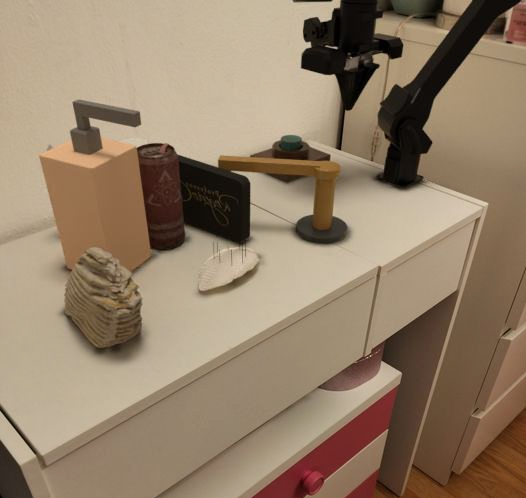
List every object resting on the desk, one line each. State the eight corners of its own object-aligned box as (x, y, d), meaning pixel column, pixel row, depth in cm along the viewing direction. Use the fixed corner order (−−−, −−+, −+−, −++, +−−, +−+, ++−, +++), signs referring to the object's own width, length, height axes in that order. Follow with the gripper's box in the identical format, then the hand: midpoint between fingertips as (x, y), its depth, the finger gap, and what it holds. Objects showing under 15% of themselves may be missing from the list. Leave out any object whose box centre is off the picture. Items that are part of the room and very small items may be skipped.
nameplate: (250, 240, 85) (250, 177, 78) (242, 245, 83) (242, 182, 77) (151, 202, 94) (144, 143, 87) (143, 206, 92) (136, 147, 86)
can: (192, 233, 86) (185, 143, 77) (174, 253, 81) (164, 160, 72) (157, 227, 87) (146, 138, 78) (137, 246, 83) (123, 153, 74)
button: (290, 142, 107) (291, 133, 106) (305, 148, 105) (306, 138, 104) (276, 147, 105) (276, 138, 104) (290, 153, 103) (291, 143, 101)
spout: (339, 179, 83) (341, 159, 81) (338, 190, 80) (340, 170, 78) (222, 171, 85) (221, 152, 83) (217, 182, 82) (216, 162, 80)
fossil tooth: (100, 301, 74) (163, 345, 65) (56, 318, 70) (116, 367, 61) (82, 219, 67) (150, 256, 58) (33, 233, 64) (97, 274, 55)
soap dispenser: (66, 268, 78) (24, 105, 64) (106, 242, 84) (76, 87, 69) (139, 293, 73) (111, 123, 59) (175, 263, 79) (159, 102, 65)
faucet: (319, 214, 91) (324, 161, 86) (357, 232, 87) (364, 177, 81) (285, 230, 87) (287, 175, 81) (322, 249, 83) (328, 192, 77)
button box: (293, 151, 113) (294, 131, 110) (329, 165, 107) (331, 145, 105) (250, 166, 107) (250, 145, 104) (286, 182, 101) (287, 161, 99)
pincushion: (219, 302, 72) (217, 264, 68) (184, 286, 75) (180, 249, 71) (271, 263, 79) (272, 227, 76) (238, 250, 82) (237, 215, 78)
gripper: (357, -11, 92) (347, 89, 102) (277, 0, 82) (274, 109, 92) (413, -2, 86) (396, 103, 96) (333, 10, 76) (323, 126, 86)
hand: (347, 110), depth 93 cm, fingers closed
